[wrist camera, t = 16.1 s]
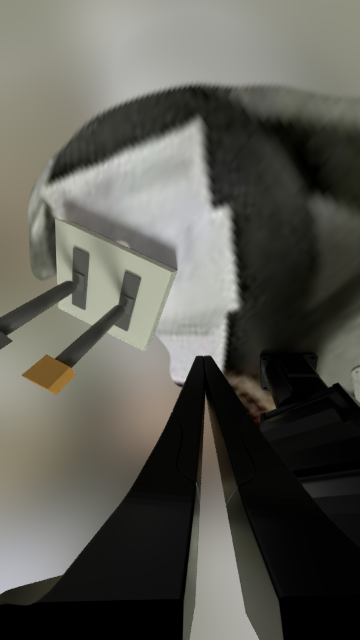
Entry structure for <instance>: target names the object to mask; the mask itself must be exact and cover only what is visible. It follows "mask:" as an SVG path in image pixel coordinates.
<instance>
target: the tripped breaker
mask: <svg viewBox="0 0 360 640" xmlns="http://www.w3.org/2000/svg"><path fill="white" fill-rule="evenodd" d="M125 312H126V310H125V308H124V306H122V305H115V306H114V307H113V308H112V309H111V310H109V311H108V312H107V313H106V314H105V315H104V316H103V317H101V318H100V319H99V320H98V321H97V322H96V323H95V324H94V325H92V326H91V327H90V328H89V329H88V330H87V331H86V332H84V334H82V335H81V336H80V337H79V338H78V339H77V340H75V341H74V342H73V343H72V344H71V345H70V346H69V347H67V348H66V349H65V350H64V351H63V352H62V353H61V354H60V355H58V356H57V357H56V358H55V359H54V358H52V357H50V356H48V355H46V356H44V357H43V358H42V359H41V360H39V361H38V362H37V363H36V364H35V365H33V366H32V367H31V368H30V369H29V370H27V371H26V372H25V373H24V374H23V375H22V376H24V377H25V378H27V379H28V380H30V381H32V382H33V383H35V384H37V385H39V386H41V387H43V388H44V389H46V390H48V391H50V392H52V393H53V394H55V395H57V393H59V392H60V391H61V389H62V388H63V387H64V386H65V385H66V384H67V383H68V382H69V381H70V380H71V379H72V378H73V377H74V376H75V373H74V371H73V370H72V369H71V368H72V367H73V366H74V365H75V364H76V363H77V362H78V361H79V360H80V359H81V358H82V357H83V356H84V355H85V354H86V353H87V352H88V351H89V350H90V349H91V348H92V347H93V346H94V345H95V344H96V343H97V342H98V340H100V339H101V338H102V337H103V335H105V334H106V333H107V332H108V331H109V330H110V329H111V328H112V326H113V325H114V324H115V323H116V322H117V321H118V320H119V319H120V318H121V317H122V316H123V315H124V314H125Z"/></svg>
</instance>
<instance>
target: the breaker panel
mask: <svg viewBox="0 0 360 640" xmlns="http://www.w3.org/2000/svg"><path fill="white" fill-rule="evenodd" d="M55 225H56V257H57V286H56V287H54V288H52V289H51V290H49V291H47V292H45V293H43V294H41V295H40V296H38V297H36V298H34V299H33V300H31V301H29V302H27V303H25V304H24V305H22V306H20V307H18V308H16V309H15V310H13V311H11V312H9V313H7V314H6V315H4V316H2V317H0V349H2V348H3V347H5V346H6V345H8V344H9V343H11V342H12V340H11V339H10V338H8V337H7V335H8V334H10V333H12V332H13V331H14V330H16V329H18V328H19V327H21V326H22V325H24V324H25V323H27V322H28V321H30V320H32V319H33V318H35V317H36V316H38V315H39V314H41V313H42V312H44V311H45V310H47V309H49V308H50V307H52V306H53V305H55V304H56V303H58V308H59V309H61V310H63V311H65V312H67V313H69V314H71V315H73V316H75V317H77V318H79V319H81V320H83V321H85V322H87V323H89V324H91V325H94V324H95V323H96V322H97V321H98V320H99V319H100V318H101V317H103V316H104V315H105V314H106V313H107V312H108V311H109V310H111V309H112V308H113V307H114V306H115V305H122V306H124V308H125V310H126V312H125V314H124V315H123V316H122V317H121V318H120V319H119V320H118V321H117V322H116V323H115V324H114V325H113V326H112V328H111V329H110V330H109V331H108V332H107V333H109V334H111V335H113V336H115V337H117V338H119V339H120V340H122V341H124V342H127V343H128V344H130V345H133V346H134V347H136V348H138V349H140V350H142V351H145V350H146V349H147V347H148V346H149V345H150V343H151V341H152V339H153V336H154V333H155V330H156V328H157V325H158V322H159V319H160V317H161V314H162V311H163V309H164V306H165V303H166V300H167V298H168V295H169V292H170V289H171V287H172V284H173V281H174V279H175V276H176V273H177V270H175V269H173V268H171V267H169V266H167V265H164V264H162V263H160V262H158V261H156V260H154V259H151V258H149V257H147V256H145V255H143V254H141V253H138V252H136V251H134V250H132V249H130V248H128V247H125V246H123V245H121V244H119V243H117V242H115V241H112V240H110V239H108V238H106V237H104V236H102V235H100V234H97V233H95V232H93V231H91V230H89V229H87V228H84V227H82V226H80V225H78V224H76V223H74V222H69V221H65V220H60V219H56V218H55Z"/></svg>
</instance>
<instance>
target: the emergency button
mask: <svg viewBox="0 0 360 640" xmlns="http://www.w3.org/2000/svg"><path fill="white" fill-rule="evenodd" d="M350 374H351V379H352V384H353V389H354V394H355V398H356V399H357V400H358V401H359V402H360V366H358V367H355V368H354V369H352V370H351V373H350Z"/></svg>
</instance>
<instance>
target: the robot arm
mask: <svg viewBox="0 0 360 640" xmlns="http://www.w3.org/2000/svg"><path fill="white" fill-rule="evenodd" d="M311 356H313V357H311ZM264 357H266V358H264ZM317 359H318V356H317V355H316V354H315V353H278V354H262V355H261V356H260V368H261V387H262V389H263V390H267V391H270V392H271V395H272V398H273V400H274V403H275V406H276V408H277V409H274V410H272V411H269V412H267V413H265V412H264V413H262V414H260V429H259V428H258V426H257V425H256V424H255V422H254V421H253V419H252V418H251V416H250V414H247V413H248V412H247V410H246V409H245V407H244V405H243V404H242V402H241V401H240V399H239V398H238V396H237V395H236V393H235V392H234V390H233V389H232V387H231V386H230V384H229V383H228V381H227V380H226V378H225V377H224V375H223V373H222V372H221V370H220V369H219V367H218V366H217V364H216V363H215V361H214V360H213V358H212V357H211V356H204V357H203V356H196V358H195V360H194V362H193V364H192V367H191V369H190V371H189V374H188V376H187V378H186V381H185V383H184V385H183V388H182V390H181V392H180V394H179V397H178V399H177V402H176V404H175V406H174V408H173V412H172V413H171V415H170V417H169V420H168V422H167V424H166V426H165V428H164V430H163V432H162V434H161V436H160V438H159V440H158V442H157V444H156V445H155V447H154V449H153V451H152V452H151V454H150V456H149V458H148V459H147V461H146V463H145V465H144V466H143V468H142V470H141V472H140V473H139V475H138V477H137V479H136V481H135V482H134V484H133V486H132V487H131V489H130V490H129V492H128V493H127V495H126V496H125V498H124V499H123V501H122V502H121V503H120V505H119V506H118V507H117V508H116V510H115V511H114V512H113V513H112V514H111V516H110V517H109V518H108V519H107V521H106V522H105V523H104V525H103V526H102V527H101V528H100V530H99V531H98V532H97V533H96V534H95V536H94V537H93V538H92V540H91V541H90V542H89V543H88V544H87V546H86V547H85V548H84V549H83V551H82V552H81V553H80V554H79V556H78V557H77V558H76V559H75V561H74V562H73V563H72V564H71V566H70V567H69V568H68V569H67V571H66V572H65V573H64V574H63V575H61V576H57V577H53V578H49V579H46V580H42V581H39V582H35V583H31V584H27V585H24V586H20V587H17V588H13V589H10V590H7V591H5V592H3V593H2V594H0V640H189V639H190V633H191V626H192V620H193V614H194V608H195V595H196V573H197V554H198V534H199V513H200V493H201V474H202V454H203V453H202V452H203V434H204V414H205V413H204V412H205V393H206V400H207V405H208V410H209V416H210V421H211V427H212V432H213V437H214V443H215V448H216V453H217V459H218V464H219V470H220V475H221V481H222V486H223V492H224V497H225V502H226V508H227V513H228V519H229V524H230V530H231V535H232V541H233V546H234V551H235V557H236V562H237V568H238V573H239V578H240V583H241V589H242V595H243V600H244V606H245V611H246V614H247V616H248V618H249V620H250V622H251V624H252V626H253V628H254V630H255V632H256V634H257V636H258V638H259V640H360V402H359V401H358V400H357V399H356V398H354V397H353V396H352V395H351V394H350V393H349V392H348V391H347V390H346V389H345V388H344V387H343V386H342V385H340V384H339V383H336V384H333V386H331V387H329V388H328V386H327V385H326V384H325V383H324V381H323V380H322V379H321V378H320V377H319V374H318V373H317V372H316V366H317Z"/></svg>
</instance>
